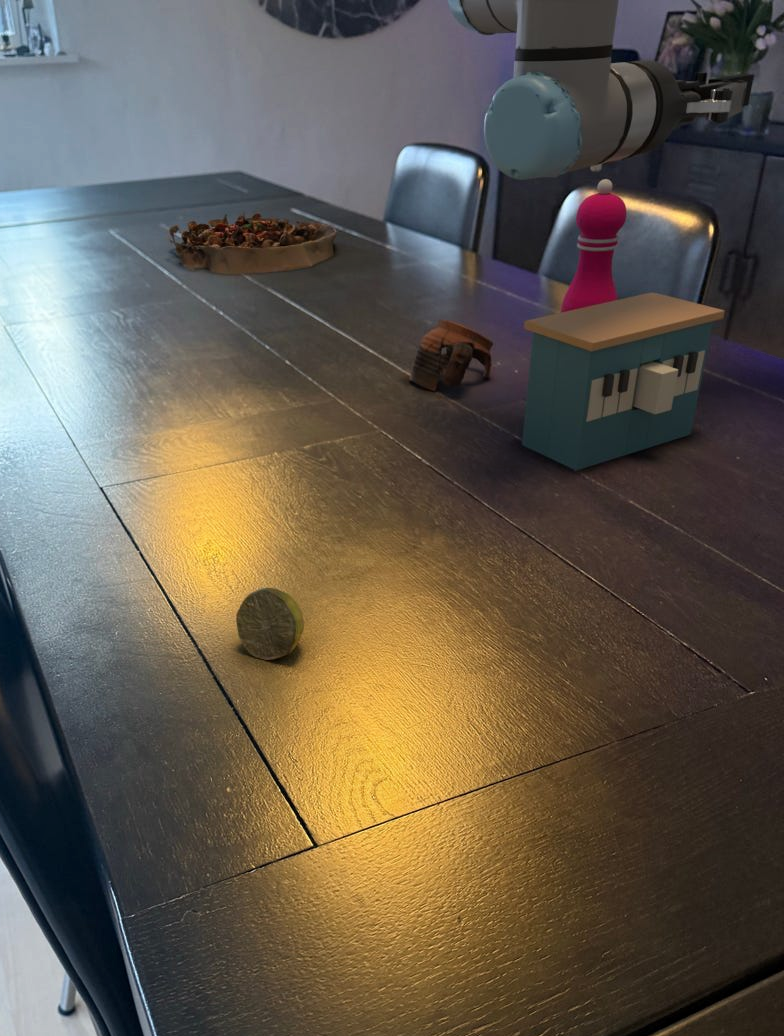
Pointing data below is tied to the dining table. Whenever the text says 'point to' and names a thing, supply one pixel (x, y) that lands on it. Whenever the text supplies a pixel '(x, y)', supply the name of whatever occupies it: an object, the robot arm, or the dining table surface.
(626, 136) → the robot arm
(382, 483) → the dining table surface
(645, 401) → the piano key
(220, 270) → the food dish
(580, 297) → the pepper mill
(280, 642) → the lime
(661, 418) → the toy piano
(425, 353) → the rusty brown helmet
